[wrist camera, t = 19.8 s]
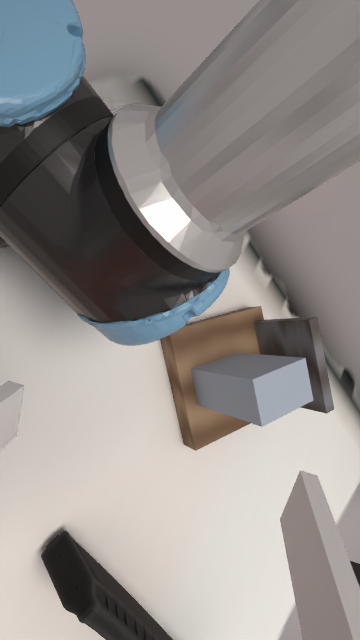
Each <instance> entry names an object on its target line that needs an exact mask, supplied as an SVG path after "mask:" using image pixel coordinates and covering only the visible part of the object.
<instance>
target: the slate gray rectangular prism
mask: <svg viewBox="0 0 360 640" xmlns="http://www.w3.org/2000/svg"><path fill="white" fill-rule="evenodd" d="M191 371H192V376H193V381H194V385H195V390H196V395H197V399H198V404H199V406H202V407H205V408H208V409H211V410H214V411H217V412H220V413H223V414H226V415H229V416H232V417H235V418H238V419H241V420H244V421H247V422H250V423H253V424H256V425H259V426H264V425H266V424H268V423H270V422H272V421H274V420H276V419H278V418H280V417H282V416H284V415H286V414H288V413H290V412H292V411H294V410H296V409H298V408H300V407H302V406H303V405H305V404H307V403H309V402H311V401H313V395H312V390H311V385H310V379H309V374H308V368H307V363H306V358H301V357H287V356H274V355H261V354H247V353H235V354H233V355H230V356H227V357H224V358H221V359H218V360H215V361H213V362H210V363H207V364H204V365H201V366H198V367H195V368H193V369H191Z"/></svg>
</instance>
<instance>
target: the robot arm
mask: <svg viewBox="0 0 360 640" xmlns="http://www.w3.org/2000/svg"><path fill="white" fill-rule="evenodd" d="M82 34H83V31H82V25H81V22H80V18H79V15H78V12H77V10H76V8H75V5H74V3H73V1H72V0H0V248H1V247H6V246H10V247H11V248H12V249H13V250H14V251H15V252H16V253H17V254H18V255H19V256H20V257H21V258H22V259H23V260H24V261H25V262H26V263H27V264H28V265H29V266H30V267H31V268H32V269H33V270H34V271H35V272H36V273H37V274H38V275H39V276H40V277H41V278H42V279H43V280H44V281H45V282H46V283H47V284H48V285H49V286H50V287H51V288H52V289H53V290H54V291H55V292H56V293H57V294H58V295H59V296H60V297H61V298H62V299H63V300H64V301H65V302H66V303H67V304H68V305H69V306H70V307H71V308H72V309H73V310H74V311H75V312H76V313H77V314H78V316H79V317H80V318H81V319H82V320H83V321H85V322H87V323H88V324H90V325H92V326H94V327H95V328H96V329H97V330H99V331H100V332H101V333H102V334H103V335H104V336H105V337H107V338H108V339H109V340H111V341H113V342H115V343H117V344H121V345H127V346H135V345H142V344H147V343H150V342H154V341H157V340H159V339H161V338H164V337H166V336H168V335H170V334H172V333H174V332H176V331H178V330H179V329H181V328H183V327H184V326H185V325H186V323H187V321H188V320H189V318H191V317H194V316H199V315H200V314H202V313H203V312H204V311H205V310H206V309H207V308H208V307H210V306H211V305H212V303H213V302H214V301H215V300H216V299H217V298H218V297H219V295H220V294H221V293H222V291H223V289H224V288H225V286H226V284H227V281H228V278H229V274H230V272H229V267H231V266H232V265H233V264H235V263H236V261H237V260H238V258H239V256H240V253H241V250H242V245H243V240H244V235H245V232H246V230H248V229H250V228H251V227H252V226H255V225H256V224H258V223H259V222H261V221H263V220H264V219H266V218H268V217H269V216H271V215H273V214H274V213H276V212H277V211H279V210H281V209H282V208H284V207H286V206H287V205H289V204H291V203H292V202H294V201H295V200H297V199H299V198H301V197H302V196H304V195H305V194H307V193H309V192H310V191H312V190H313V189H315V188H317V187H319V186H320V185H322V184H323V183H325V182H327V181H329V180H330V179H332V178H333V177H335V176H337V175H338V174H340V173H342V172H343V171H345V170H347V169H348V168H350V167H352V166H353V165H355V164H356V163H358V162H360V0H260V1H259V2H258V3H257V4H256V5H255V6H254V7H253V8H252V9H251V10H250V11H249V12H248V14H247V15H246V16H245V17H244V18H243V19H242V20H241V21H240V22H239V23H238V24H237V25H236V27H235V28H234V29H233V30H232V31H231V32H230V33H229V34H228V35H227V36H226V37H225V39H224V40H223V41H222V42H221V43H220V44H219V45H218V46H217V47H216V48H215V49H214V50H213V52H212V53H211V54H210V55H209V56H208V57H207V58H206V59H205V60H204V61H203V62H202V64H201V65H200V66H199V67H198V68H197V69H196V70H195V71H194V72H193V73H192V75H191V76H190V77H189V78H188V79H187V80H186V81H185V82H184V83H183V84H182V85H181V86H180V87H179V88H178V90H177V91H176V92H175V93H174V94H173V95H172V96H171V97H170V98H169V99H168V100H167V102H166V103H165V104H164V105H163V106H162V107H159V106H152V105H145V104H130V105H126V106H124V107H123V108H121V109H120V110H119V111H118V112H117V113H116V114H115V115H113V114H112V113H111V111H110V110H109V109H108V108H107V106H106V105H105V104H104V102H103V101H102V100H101V98H100V97H99V96H98V95H97V93H96V92H95V91H94V89H93V88H92V87H91V85H90V84H89V83H88V82H87V80H86V79H85V78H84V76H83V72H84V69H85V63H86V57H85V56H86V55H85V48H84V45H83V42H82ZM23 390H24V385H21V384H18V383H14V382H11V381H8V382H6V383H5V384H3V385H2V386H0V451H1V450H2V449H3V448H4V447H5V446H6V445H7V444H8V443H9V442H10V441H11V440H12V439H14V438H15V437H16V436H17V430H18V423H19V416H20V410H21V403H22V396H23ZM280 522H281V527H282V532H283V538H284V543H285V548H286V554H287V559H288V564H289V570H290V575H291V580H292V585H293V591H294V596H295V601H296V607H297V612H298V617H299V622H300V628H301V633H302V638H303V640H360V564H358V563H355V562H352V561H349V558H348V556H347V553H346V550H345V547H344V545H343V542H342V539H341V537H340V534H339V532H338V529H337V526H336V524H335V521H334V518H333V516H332V513H331V511H330V508H329V505H328V503H327V500H326V497H325V495H324V492H323V489H322V487H321V484H320V482H319V479H318V476H317V475H313V474H310V473H307V472H304V471H300V472H299V475H298V477H297V479H296V482H295V484H294V487H293V489H292V492H291V494H290V496H289V499H288V501H287V504H286V506H285V509H284V511H283V513H282V516H281V518H280Z"/></svg>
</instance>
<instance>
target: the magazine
mask: <svg viewBox="0 0 360 640" xmlns="http://www.w3.org/2000/svg"><path fill="white" fill-rule="evenodd" d="M41 557H42V560H43V562H44V564H45V566H46V569H47V571H48V573H49V575H50V578H51V580H52V582H53V584H54V587H55V589H56V591H57V593H58V596H59V598H60V600H61V602H62V605H63V607H64V608H65V609H66V610H67V611H69V612H71V613H74V614H75V615H77V617H78V619H79V621H80V622H81V623H85V624H86V625H88V626H89V627H91V628H92V629H93V630H95V631H96V632H97V633H98V634H99V635H101V636H102V637H103V638H105V639H106V640H172V639H171V637H170V636H169V635H168V634H167V633H166V632H165V631H164V630H163V629H162V628H161V626H160V625H159V624H158V623H157V622H156V621H155V620H154V619H153V618H152V617H151V616H150V615H149V614H148V613H147V612H146V611H145V609H144V608H143V607H142V606H141V605H140V604H139V603H138V602H137V601H136V600H135V599H134V598H133V597H132V596H131V595H130V594H129V593H128V592H127V591H126V590H125V589H124V588H123V587H122V586H121V585H120V584H119V583H118V582H117V581H116V580H115V579H114V578H113V577H112V576H111V575H110V574H109V573H108V572H107V571H106V570H105V569H104V568H103V567H102V566H101V565H100V564H99V563H98V562H96V561H95V560H94V559H93V558H92V557H91V556H90V555H89V554H88V553H87V552H86V551H85V550H84V549H83V548H82V547H81V546H80V545H79V544H78V543H77V542H75V541H74V540H73V539H72V538H71V537H70V535H69V533H68V532H67V531H63V532H62V533H61V535H60V536H57V537H56V538H55V539H54V540H53V541H52V542H51V543H50V544H49V545H48V546H47V549H46V550H45V551H44V552H43V553H42V555H41Z"/></svg>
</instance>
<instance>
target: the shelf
mask: <svg viewBox="0 0 360 640" xmlns="http://www.w3.org/2000/svg"><path fill="white" fill-rule="evenodd" d="M161 344H162V348H163V353H164V357H165V362H166V366H167V370H168V375H169V379H170V384H171V388H172V393H173V397H174V402H175V406H176V411H177V415H178V420H179V424H180V429H181V433H182V438H183V442H184V445H186V446H188V447H190V448H192V449H193V450H195V451H196V450H198V449H200V448H202V447H204V446H206V445H208V444H210V443H212V442H214V441H216V440H218V439H220V438H222V437H224V436H226V435H228V434H230V433H232V432H234V431H236V430H238V429H240V428H242V427H244V426H246V425H248V424H250V422H247V421H244V420H241V419H238V418H235V417H232V416H229V415H226V414H223V413H220V412H217V411H214V410H211V409H208V408H205V407H202V406H199V404H198V399H197V395H196V390H195V385H194V381H193V376H192V371H191V369H193V368H195V367H198V366H201V365H204V364H207V363H210V362H213V361H215V360H218V359H221V358H224V357H227V356H230V355H233V354H235V353H247V354H261V355H274V356H287V357H301V358H306V363H307V368H308V374H309V379H310V385H311V390H312V395H313V401H311V402H309V403H307V404H305V405H303V406H302V407H301V408H306V409H310V410H314V411H319V412H323V413H328V412H330V411H332V410H334V406H333V400H332V395H331V389H330V384H329V378H328V373H327V368H326V362H325V357H324V351H323V346H322V341H321V335H320V330H319V325H318V319H317V317H312V318H292V319H272V320H264V318H263V313H262V308H261V306H259V307H249V308H245V309H241V310H237V311H234V312H230V313H226V314H223V315H219V316H216V317H212V318H208V319H205V320H201V321H197V322H194V323H190V324H187V325H185V326H184V327H183V328H181V329H179V330H178V331H176V332H174V333H172V334H170V335H168V336H166V337H164V338H161Z"/></svg>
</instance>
